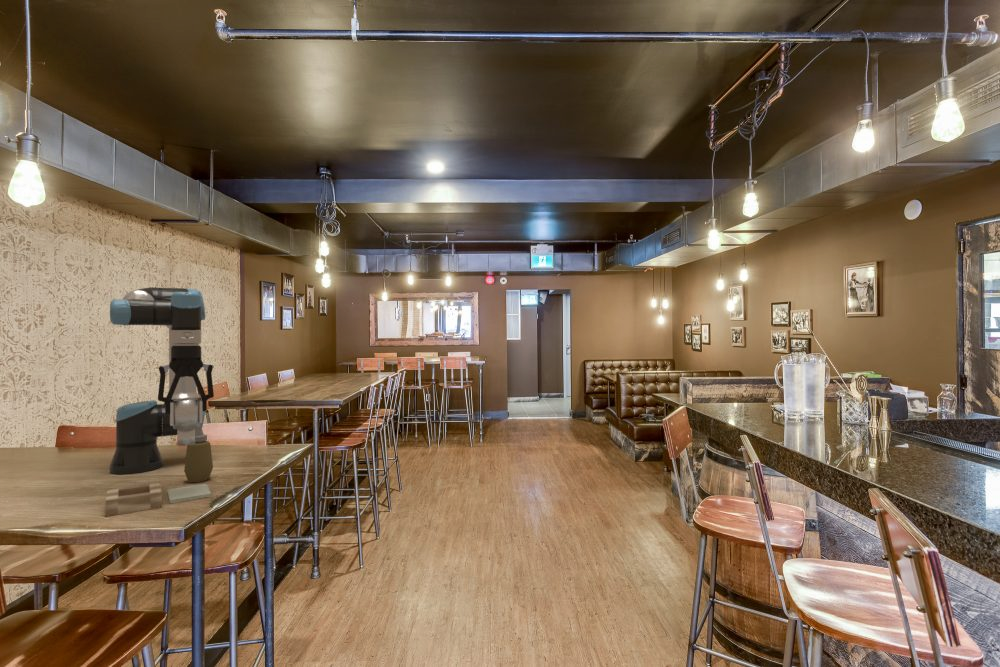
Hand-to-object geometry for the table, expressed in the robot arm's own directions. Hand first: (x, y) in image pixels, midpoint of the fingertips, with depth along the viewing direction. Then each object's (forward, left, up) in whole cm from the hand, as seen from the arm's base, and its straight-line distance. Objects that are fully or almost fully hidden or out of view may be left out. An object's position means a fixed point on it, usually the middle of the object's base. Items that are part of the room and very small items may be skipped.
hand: (186, 423), depth 147 cm
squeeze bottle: (-16, +5, -21) cm, 27 cm away
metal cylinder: (0, 0, -6) cm, 6 cm away
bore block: (+2, -12, -21) cm, 24 cm away
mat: (0, +1, -21) cm, 21 cm away
